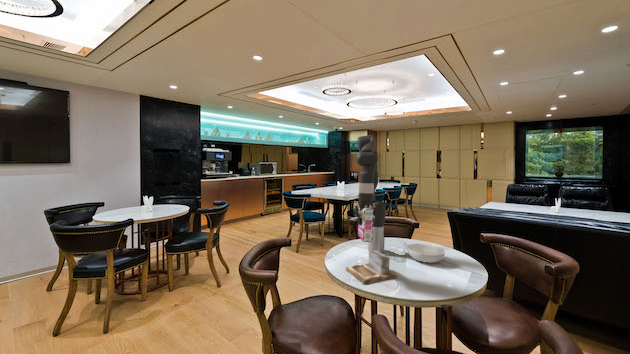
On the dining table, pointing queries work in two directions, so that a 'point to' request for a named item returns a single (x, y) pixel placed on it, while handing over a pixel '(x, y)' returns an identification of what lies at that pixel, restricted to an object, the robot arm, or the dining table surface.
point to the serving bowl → (425, 252)
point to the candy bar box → (366, 225)
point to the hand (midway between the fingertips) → (365, 224)
